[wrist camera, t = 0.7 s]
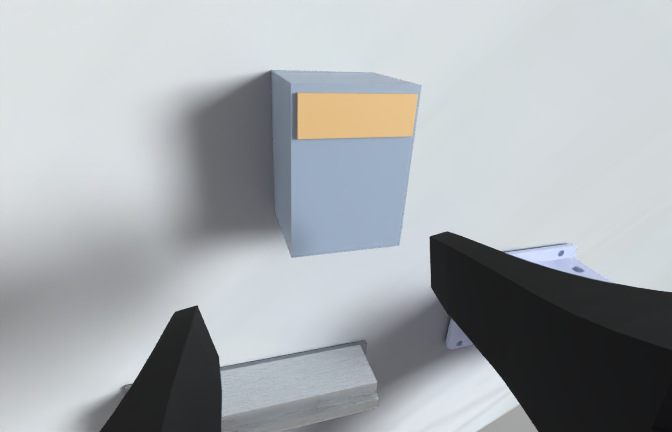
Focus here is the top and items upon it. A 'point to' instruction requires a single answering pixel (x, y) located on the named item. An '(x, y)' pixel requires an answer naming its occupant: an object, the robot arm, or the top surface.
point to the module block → (341, 158)
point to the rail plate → (297, 389)
